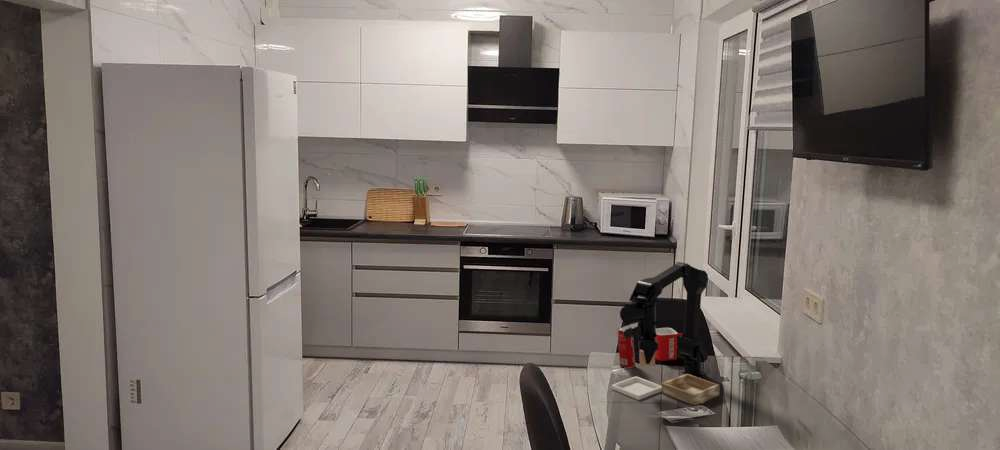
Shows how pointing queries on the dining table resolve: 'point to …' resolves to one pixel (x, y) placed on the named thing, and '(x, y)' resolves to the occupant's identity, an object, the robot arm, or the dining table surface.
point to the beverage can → (626, 350)
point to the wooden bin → (690, 389)
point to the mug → (666, 344)
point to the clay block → (642, 359)
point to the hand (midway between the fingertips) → (647, 360)
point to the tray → (636, 387)
